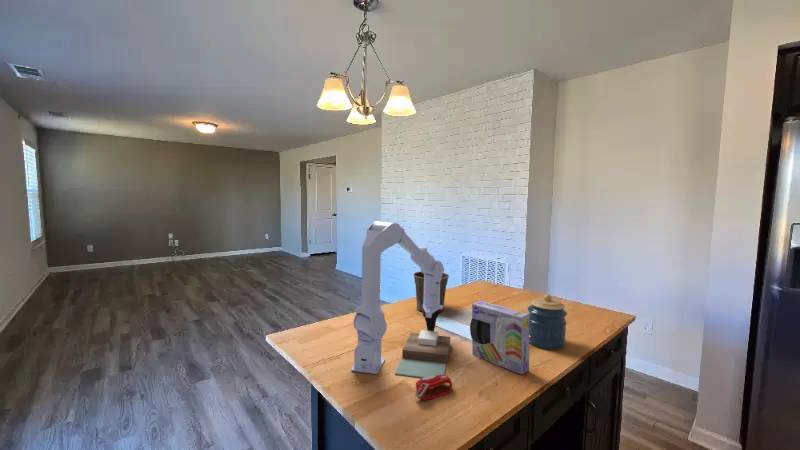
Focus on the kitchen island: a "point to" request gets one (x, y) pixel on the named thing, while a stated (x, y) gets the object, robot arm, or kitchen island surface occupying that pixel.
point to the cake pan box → (500, 336)
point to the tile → (428, 338)
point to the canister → (547, 323)
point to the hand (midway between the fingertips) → (430, 330)
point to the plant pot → (420, 289)
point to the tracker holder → (432, 386)
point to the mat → (420, 368)
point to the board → (426, 349)
